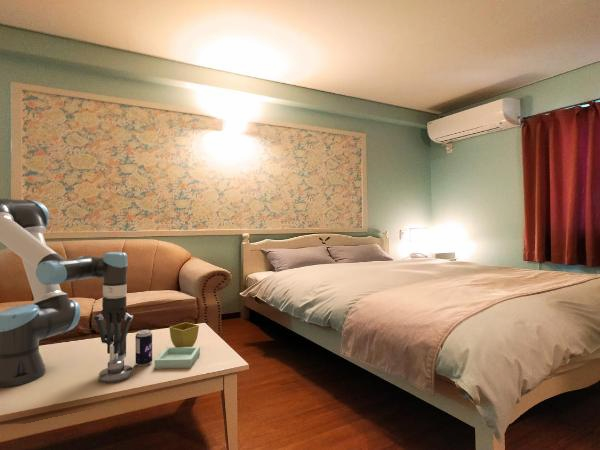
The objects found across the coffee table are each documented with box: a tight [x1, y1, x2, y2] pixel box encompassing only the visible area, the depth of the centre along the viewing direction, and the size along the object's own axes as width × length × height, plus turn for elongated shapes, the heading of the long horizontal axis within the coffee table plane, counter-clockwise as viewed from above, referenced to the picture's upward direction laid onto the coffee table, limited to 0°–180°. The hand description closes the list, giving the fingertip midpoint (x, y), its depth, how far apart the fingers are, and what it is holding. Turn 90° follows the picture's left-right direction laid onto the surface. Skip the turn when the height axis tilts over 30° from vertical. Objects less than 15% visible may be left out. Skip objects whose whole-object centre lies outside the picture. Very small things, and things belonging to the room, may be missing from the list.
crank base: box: [98, 364, 133, 385], centre depth 119 cm, size 10×10×2 cm
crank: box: [107, 334, 127, 374], centre depth 123 cm, size 15×5×9 cm, turn 17°
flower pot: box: [169, 322, 200, 347], centre depth 147 cm, size 9×9×9 cm
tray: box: [154, 346, 201, 369], centre depth 132 cm, size 13×13×3 cm
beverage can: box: [134, 329, 153, 367], centre depth 130 cm, size 6×6×12 cm
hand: (113, 362), depth 124 cm, fingers closed
